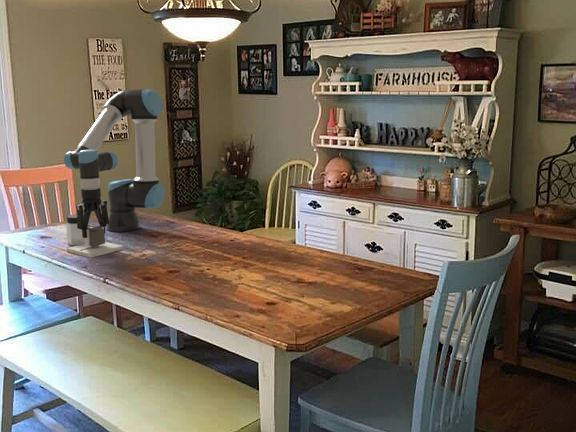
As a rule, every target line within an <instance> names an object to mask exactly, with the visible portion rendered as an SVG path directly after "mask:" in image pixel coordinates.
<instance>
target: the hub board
mask: <svg viewBox="0 0 576 432" xmlns="http://www.w3.org/2000/svg"><path fill="white" fill-rule="evenodd" d="M122 250H124V246H123V245H120V244H117V243H112V242H108V241H105V244H102V245H98V246H87V245H84V244H82V245H73V246H71V247H66V252H67V253H71V254H75V255H79V256H84V257H87V258H94V257H98V256H102V255H106V254H110V253H113V252H119V251H122Z"/></svg>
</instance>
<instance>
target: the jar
mask: <svg viewBox="0 0 576 432" xmlns="http://www.w3.org/2000/svg"><path fill="white" fill-rule="evenodd" d="M83 217H84V213H83ZM65 226H66V239H67V244H68V245H70V246H78V245H82V244H84V238H83V237H82V230H81V229H78V228H77V213H74V214H68V215H67V216H66V223H65Z"/></svg>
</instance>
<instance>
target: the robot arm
mask: <svg viewBox="0 0 576 432" xmlns="http://www.w3.org/2000/svg"><path fill="white" fill-rule="evenodd" d="M162 100H163V99H162V98H161V96H160V94H159V92H157V91H156V90H154V89H147V88H144V89H124V90H120V91H118V92H117V93H115V94H114V95H112V96H111V97H110V98H109V99H108V100H107V101H106V102H105V104H104V105H103V106H102V109H101V113H100V114H99V116H98V117H97V119H96V120H95V122H94V123H93V124H92V126H91V127H90V128H89V129H88V132H87V133H86V134H85V136H84V137H83V138H82V140H81V141H80V143H79V144H78V145H77V147H76V148H75V150H71V151H68V152H66V153H65V154H64V157H63V163H64V165H65V167H66V168H67V169H70V170H75V171H76V170H79V175H80V176H79V177H80V178H79V179H80V188H81V189H80V194H81V199H82V202H81V203H80V204H76V205H75V208H76V212H77V213H76V214H77V228H78V229H81V230H82V237H83V238H84V245H87V246H90V237H89V230H87V228H88V225H89V222H90V218H91V214H92V213H93V212H94V214H95V217H96V218H97V221H98V225H99V226H102V229H104V233H105V234H106V230H107V231H110V232H117V233H119V232H120V233H121V232H130V231H136V230H138V229H140V228H141V227H140V224H141V223H140V221H139V218H138V216H137V213H136V209H147V210H149V209H151V210H152V209H157V208H159V207H160V206H161V205H162V203H163V202H164V198H165V188H164V185H163V184H161V183H160V179H159V178H158V177H157V175H156V146H155V145H156V144H155V143H156V142H155V141H156V139H155V123H156V122H157V121H158V117H159V116H160V115H161V114H162V111H163V108H164V107H163V101H162ZM127 116H131V117H130V118H131V121H132V122H133V123H134V128H135V129H134V133H135V134H134V136H135V167H136V168H135V169H136V170H135V171H136V173H135V174H136V176H135V177H134V178H127V179H126V178H125V179H118V180H114V181H110V182H109V183H108V185H107V189H108V190H107V194H108V195H107V196H108V201H107V200H103V199H101V197H102V193H101V188H100V187H101V178H100V173H101V172H104V171H105V172H106V171H110V170H113V169H116V168H117V166H118V163H119V159H118V156H117V154H116V153H114V152H113V151H104V152H103V151H102V152H98V150H99V148H100V147H101V145H102V144H103V143H104V142H105V140H106V138H107V137H108V135H109V134H110V132H112V129H113V128H114V126H116V123H118V122H120V121H121V120H122V119H123V118H124V117H127ZM108 205H109V206H108ZM107 206H108V207H109V212H108V207H107ZM83 214H84V217H83Z"/></svg>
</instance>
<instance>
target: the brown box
mask: <svg viewBox="0 0 576 432" xmlns="http://www.w3.org/2000/svg"><path fill="white" fill-rule="evenodd" d="M87 230H89V237H90V246H98V245H102V244H105V242H106V238H105V236H106V235H105V234H106V232H105V233H104V229H102V226H100V224H97V225H96V224H94V225H93V224H89V223H88V228H87Z"/></svg>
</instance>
